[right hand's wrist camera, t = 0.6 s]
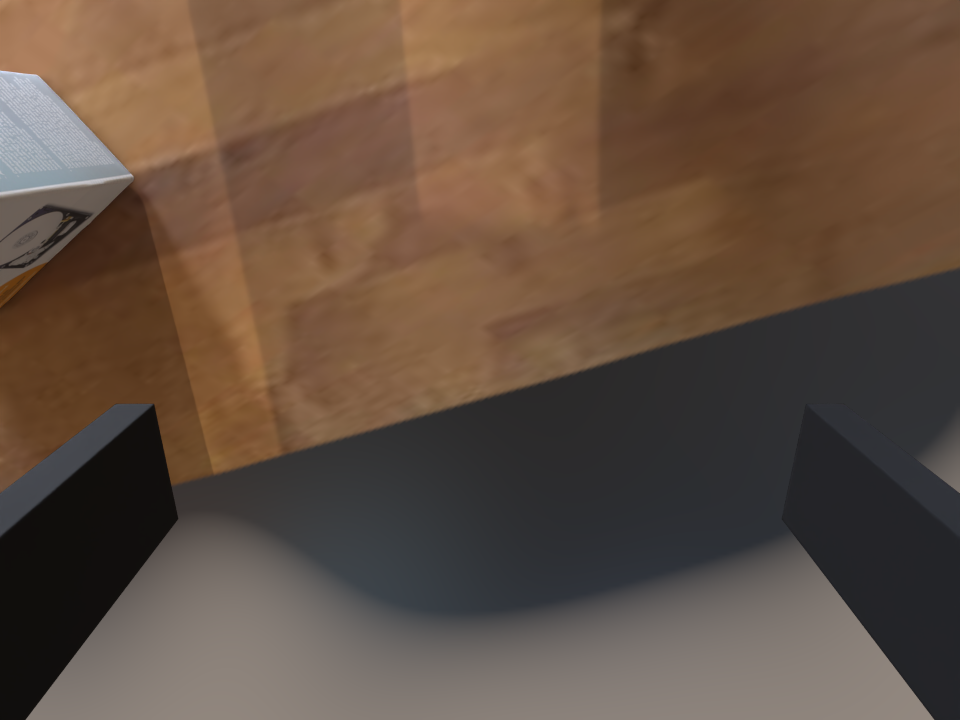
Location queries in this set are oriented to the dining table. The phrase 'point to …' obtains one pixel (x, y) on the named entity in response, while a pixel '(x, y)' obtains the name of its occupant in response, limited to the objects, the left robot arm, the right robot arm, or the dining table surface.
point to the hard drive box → (46, 178)
